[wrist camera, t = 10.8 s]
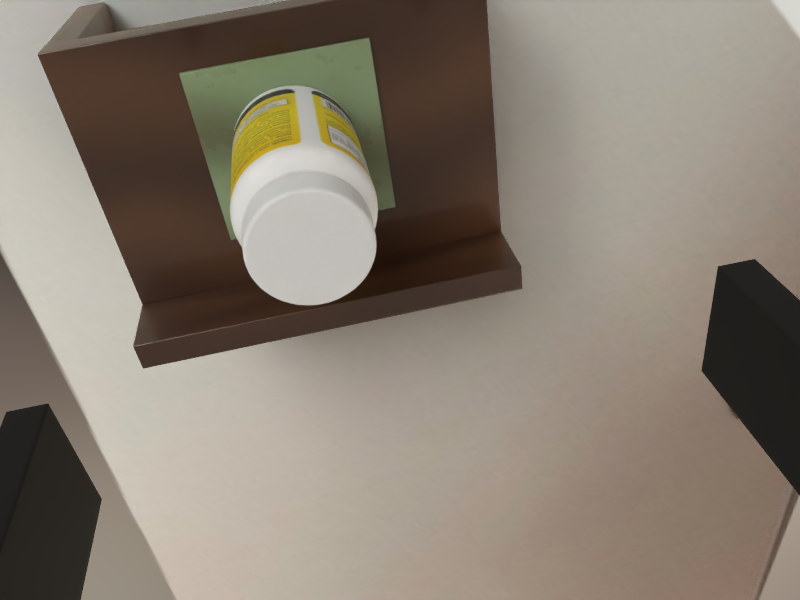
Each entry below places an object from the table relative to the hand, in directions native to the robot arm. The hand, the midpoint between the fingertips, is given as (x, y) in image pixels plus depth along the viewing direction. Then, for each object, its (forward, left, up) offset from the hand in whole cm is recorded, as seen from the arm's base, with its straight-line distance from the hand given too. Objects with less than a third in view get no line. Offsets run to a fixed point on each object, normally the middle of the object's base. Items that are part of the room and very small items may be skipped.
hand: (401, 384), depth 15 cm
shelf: (+2, -2, -24) cm, 24 cm away
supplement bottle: (+1, -2, -17) cm, 17 cm away
